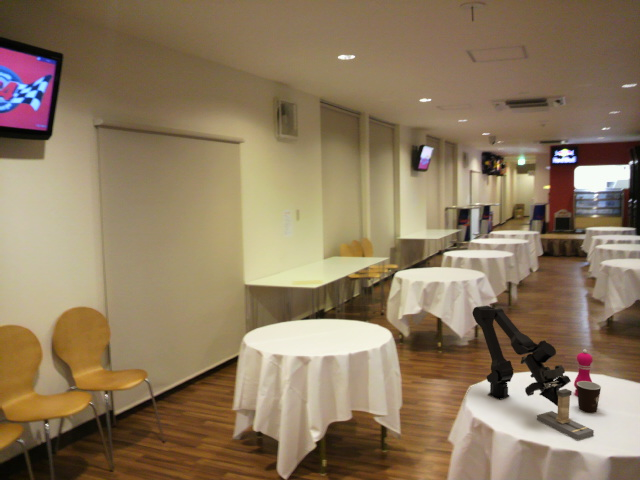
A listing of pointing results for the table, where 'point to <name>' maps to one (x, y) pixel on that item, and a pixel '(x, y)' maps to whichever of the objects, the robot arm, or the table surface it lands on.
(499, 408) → the table surface
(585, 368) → the pepper mill
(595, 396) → the coffee mug
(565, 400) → the fader lever
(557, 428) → the fader console
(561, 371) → the robot arm
